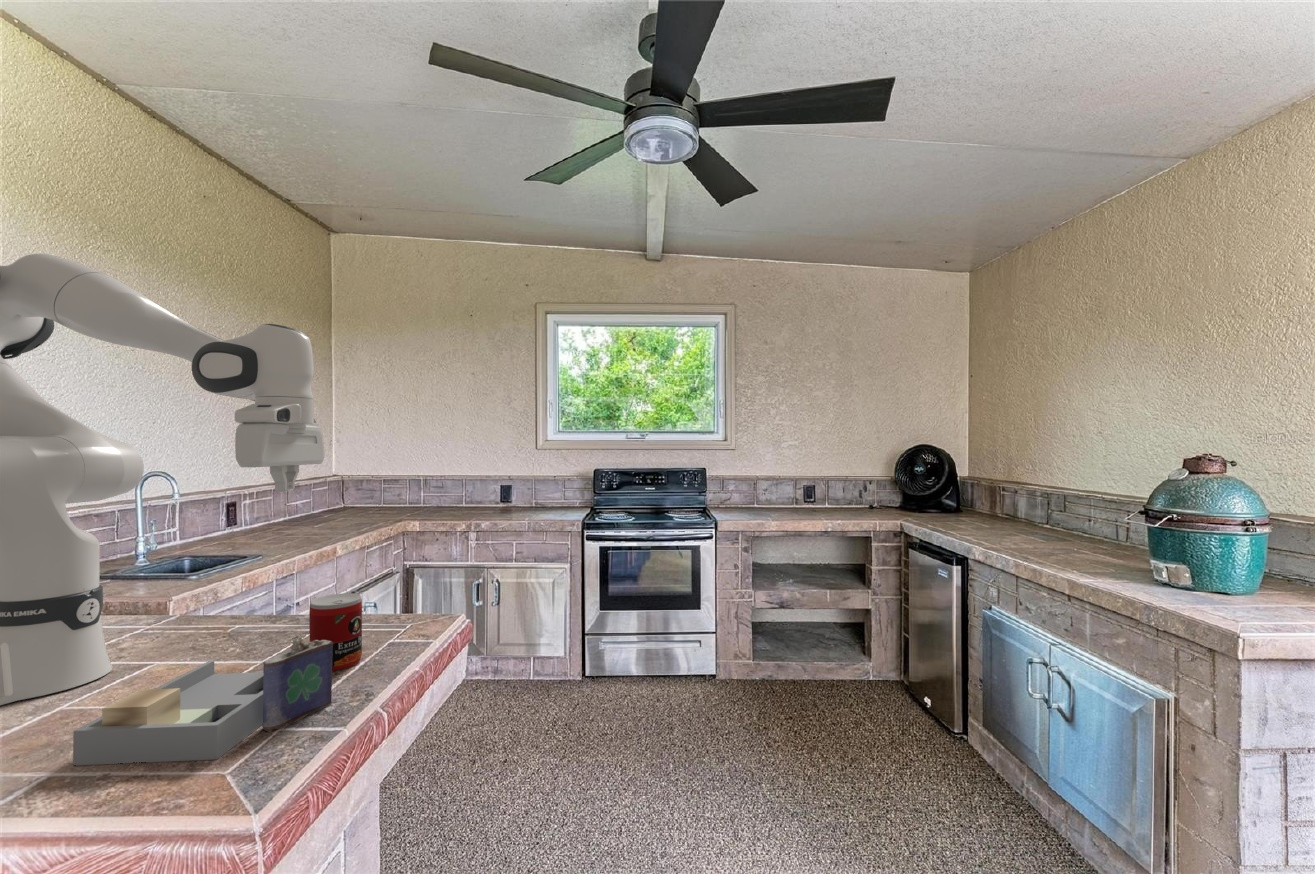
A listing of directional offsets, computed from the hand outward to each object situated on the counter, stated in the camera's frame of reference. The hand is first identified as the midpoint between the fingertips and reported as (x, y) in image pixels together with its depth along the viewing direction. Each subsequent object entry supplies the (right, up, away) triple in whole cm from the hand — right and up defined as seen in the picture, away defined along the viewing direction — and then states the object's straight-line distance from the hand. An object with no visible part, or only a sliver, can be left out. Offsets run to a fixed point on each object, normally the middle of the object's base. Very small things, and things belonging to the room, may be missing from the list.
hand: (284, 491), depth 99 cm
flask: (+18, -29, -24) cm, 41 cm away
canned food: (+12, -29, -6) cm, 32 cm away
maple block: (+4, -27, -31) cm, 41 cm away
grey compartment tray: (+7, -29, -24) cm, 38 cm away
